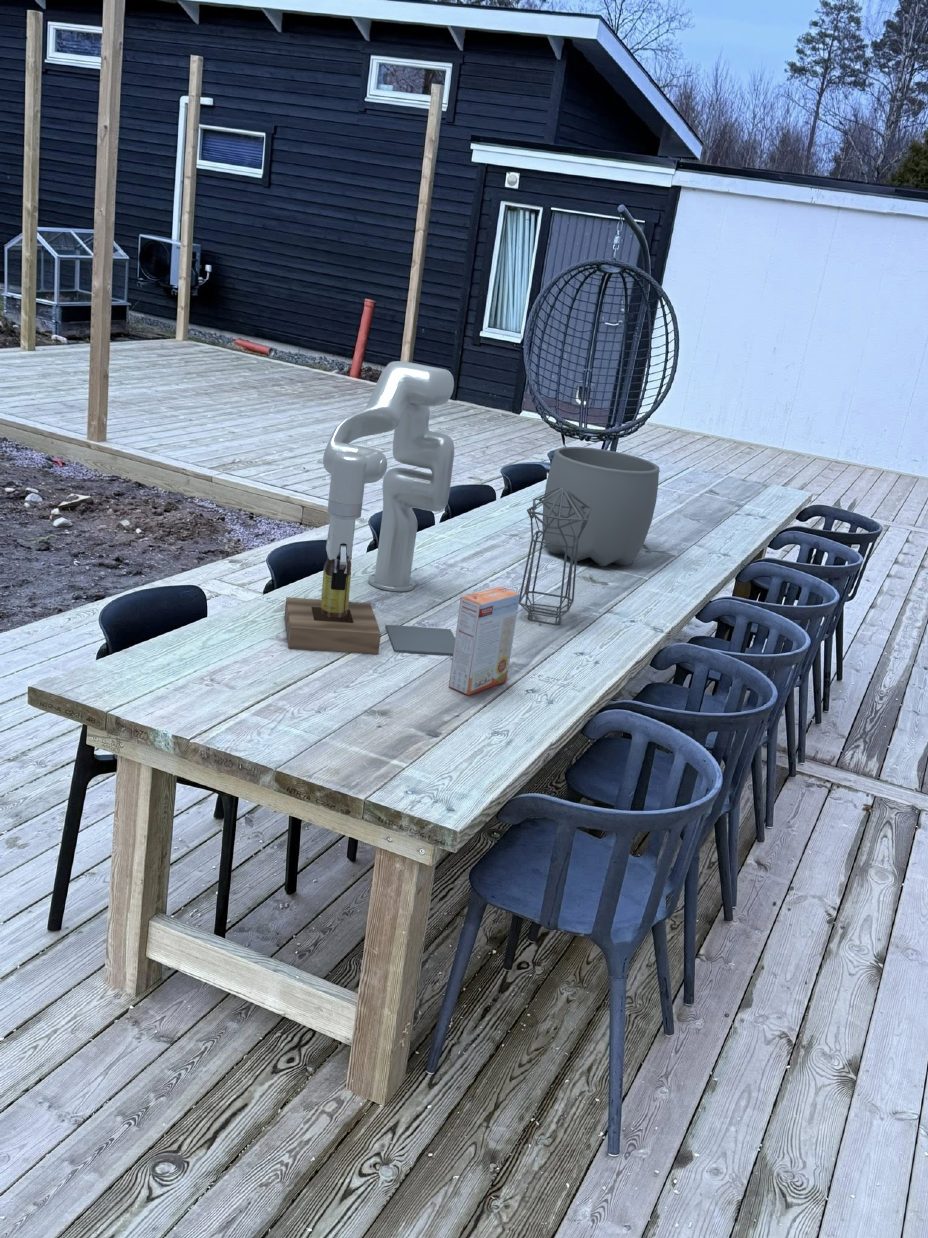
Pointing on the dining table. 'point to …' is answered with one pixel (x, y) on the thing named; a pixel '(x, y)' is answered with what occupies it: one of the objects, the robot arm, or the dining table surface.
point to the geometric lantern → (577, 510)
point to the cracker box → (483, 640)
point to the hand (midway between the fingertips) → (336, 583)
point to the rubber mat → (421, 640)
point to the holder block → (331, 627)
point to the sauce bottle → (334, 592)
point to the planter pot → (602, 503)
